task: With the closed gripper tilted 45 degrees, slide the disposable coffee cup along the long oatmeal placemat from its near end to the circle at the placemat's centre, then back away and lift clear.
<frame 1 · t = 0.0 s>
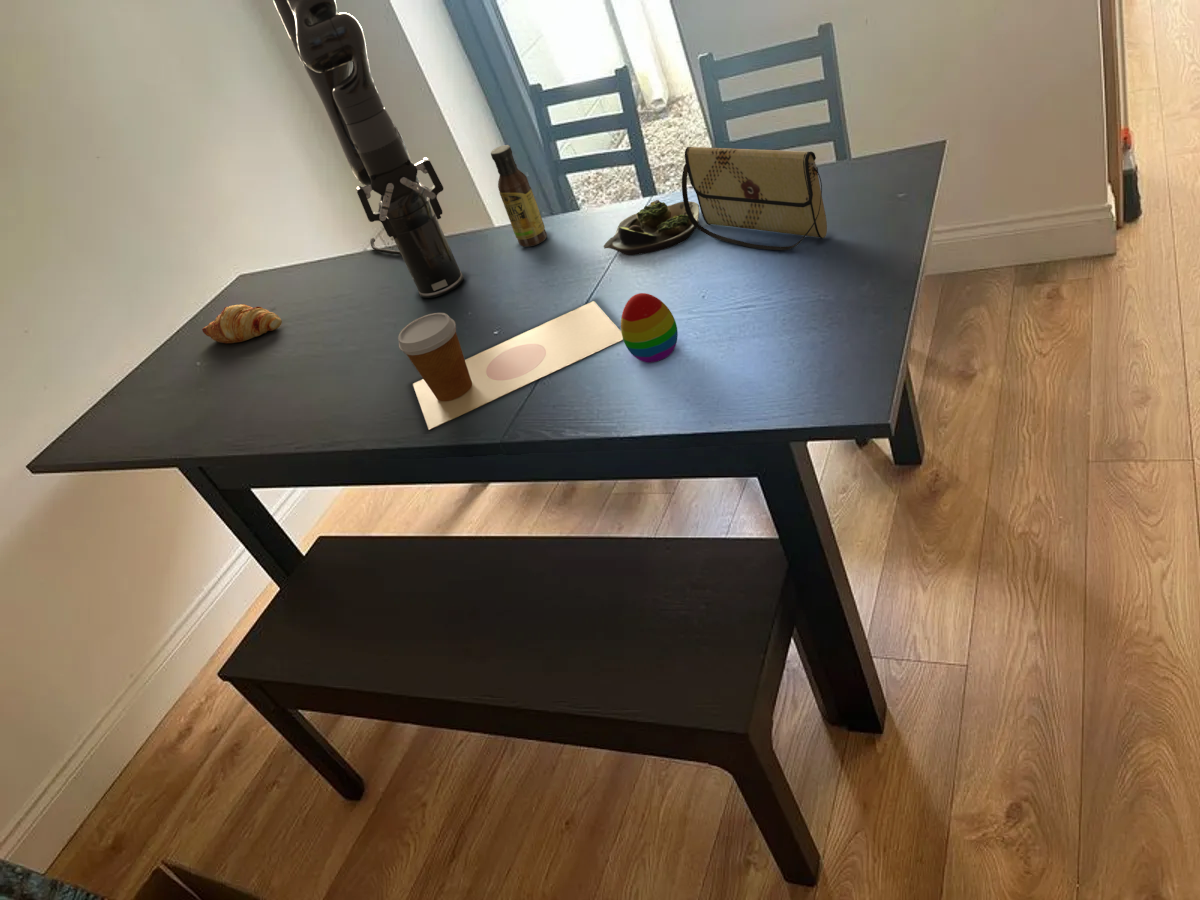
hand: (417, 227, 169), 17 cm above the table, tool pointing down, fingers open, 8 cm apart
decorative egg: (656, 353, 142), on the table
placemat: (516, 362, 154), on the table
salad plate: (656, 235, 177), on the table
disposable coffee cup: (454, 391, 153), resting on placemat
sauce bottle: (534, 242, 193), on the table
croissant: (247, 335, 203), on the table
clutch purse: (758, 238, 162), on the table
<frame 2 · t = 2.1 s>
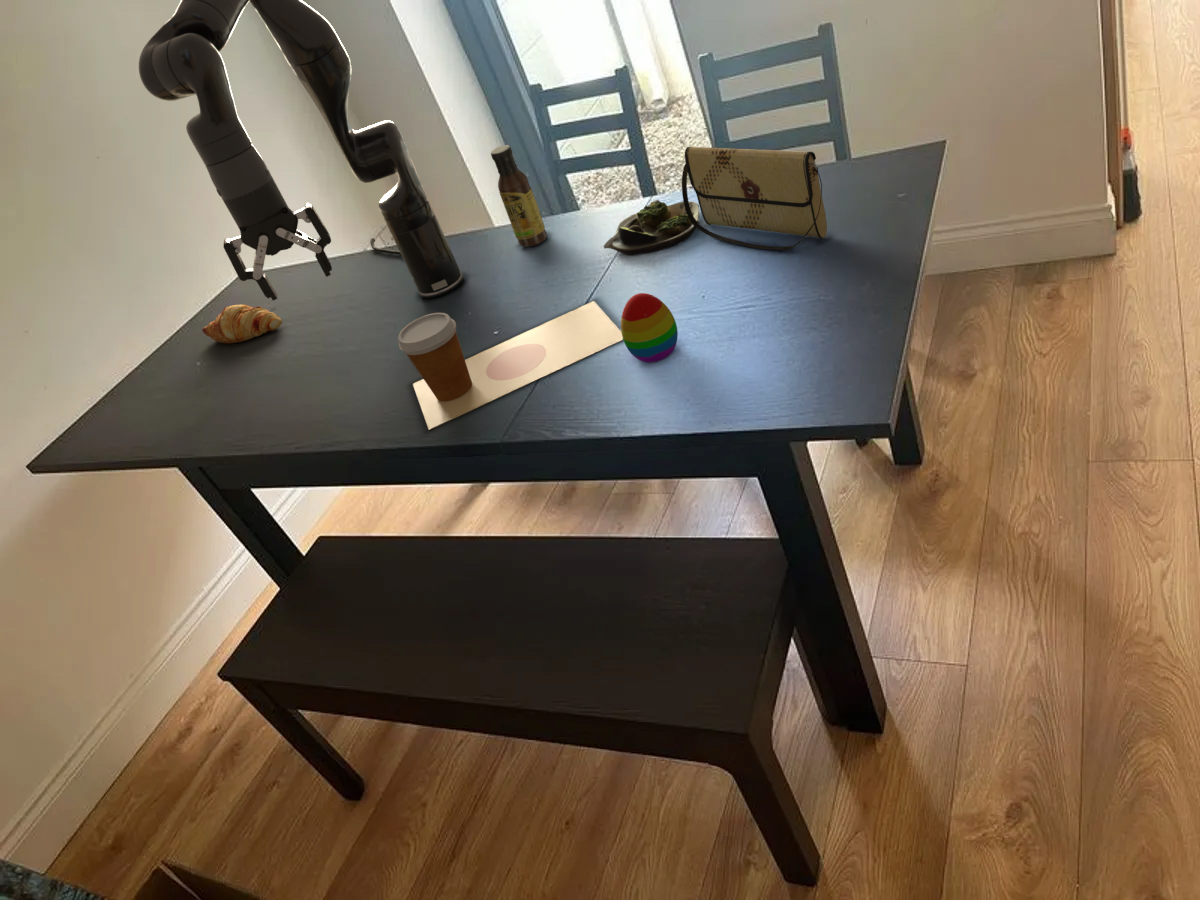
hand: (301, 286, 141), 25 cm above the table, tool pointing down, fingers open, 8 cm apart
nothing on the table moved.
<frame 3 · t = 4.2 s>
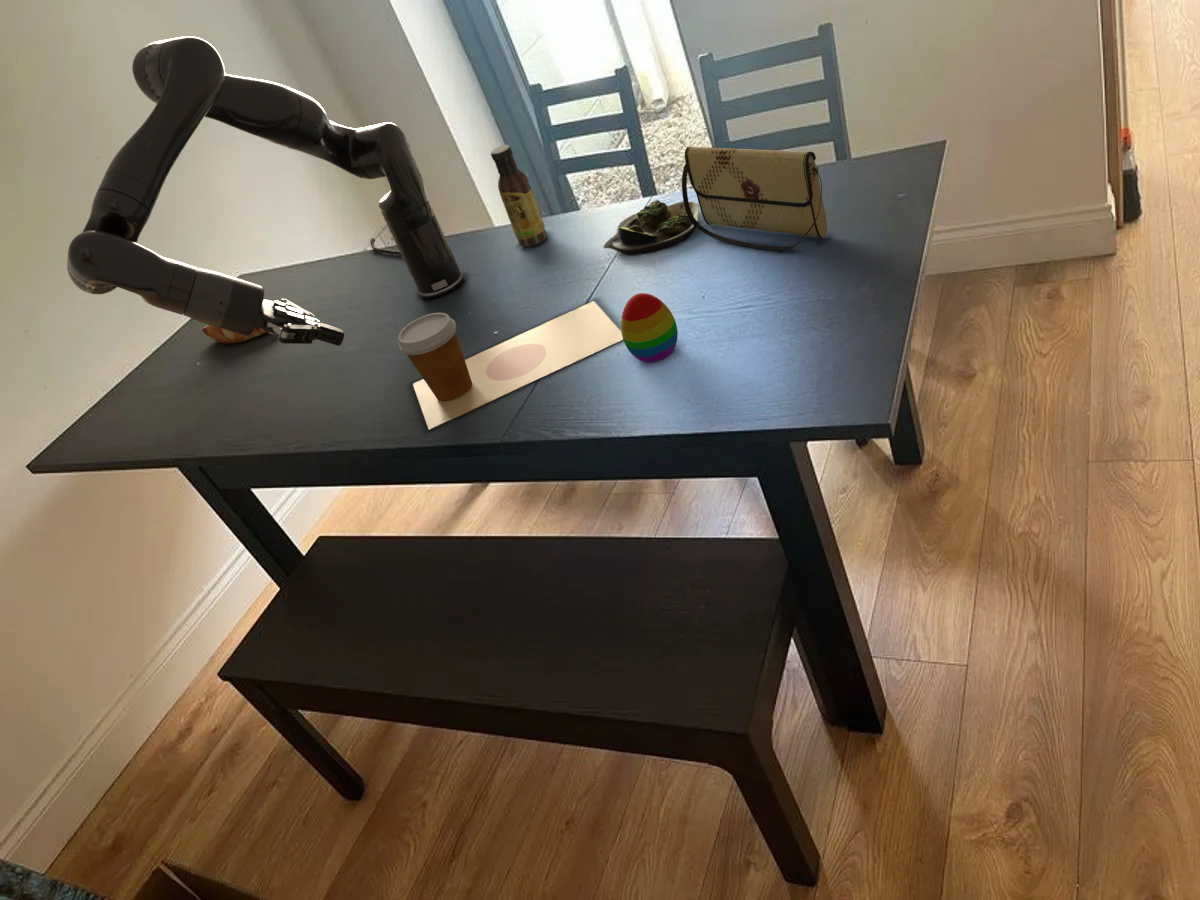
hand: (342, 338, 143), 16 cm above the table, tool tilted 45°, fingers closed
nothing on the table moved.
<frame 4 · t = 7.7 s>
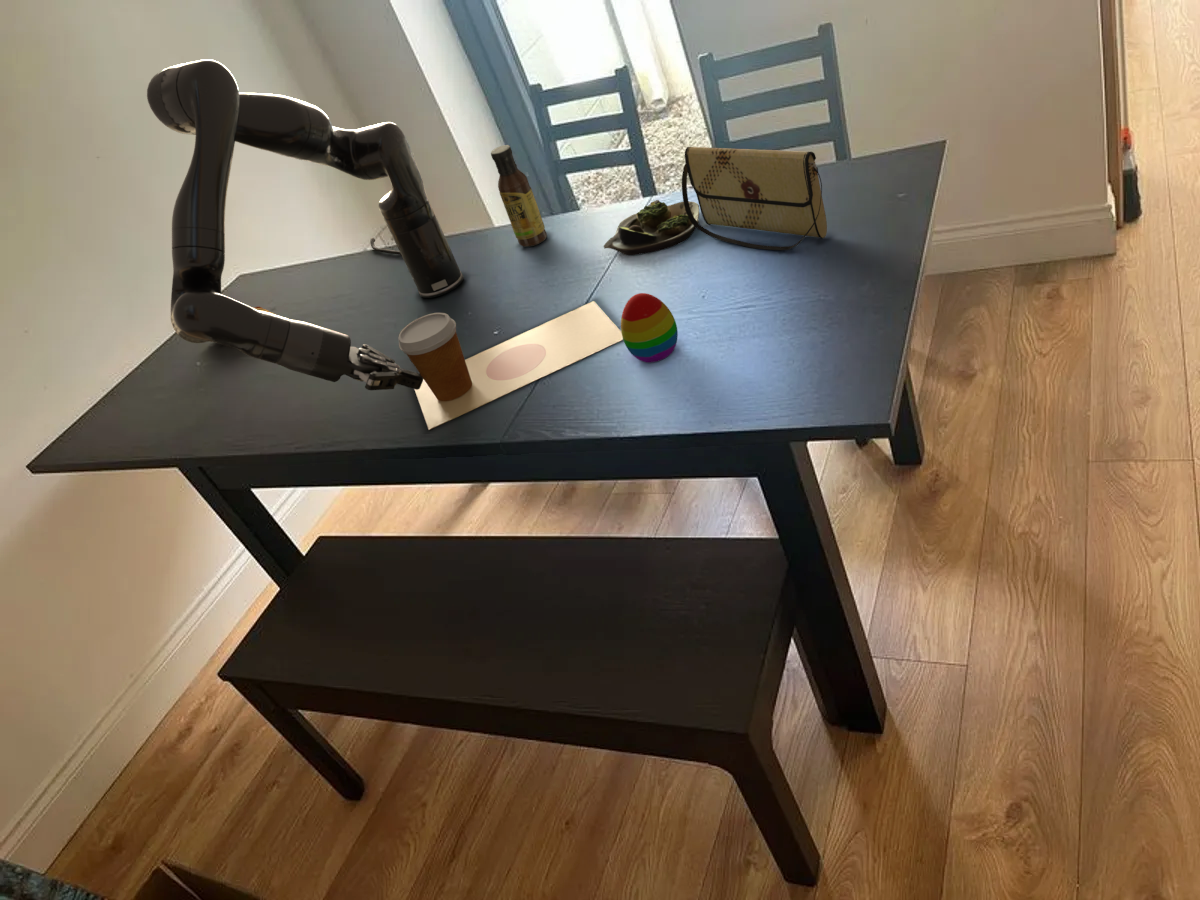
hand: (420, 382, 150), 4 cm above the table, tool tilted 45°, fingers closed
disposable coffee cup: (454, 390, 153), resting on placemat, touching gripper
everything else where it was.
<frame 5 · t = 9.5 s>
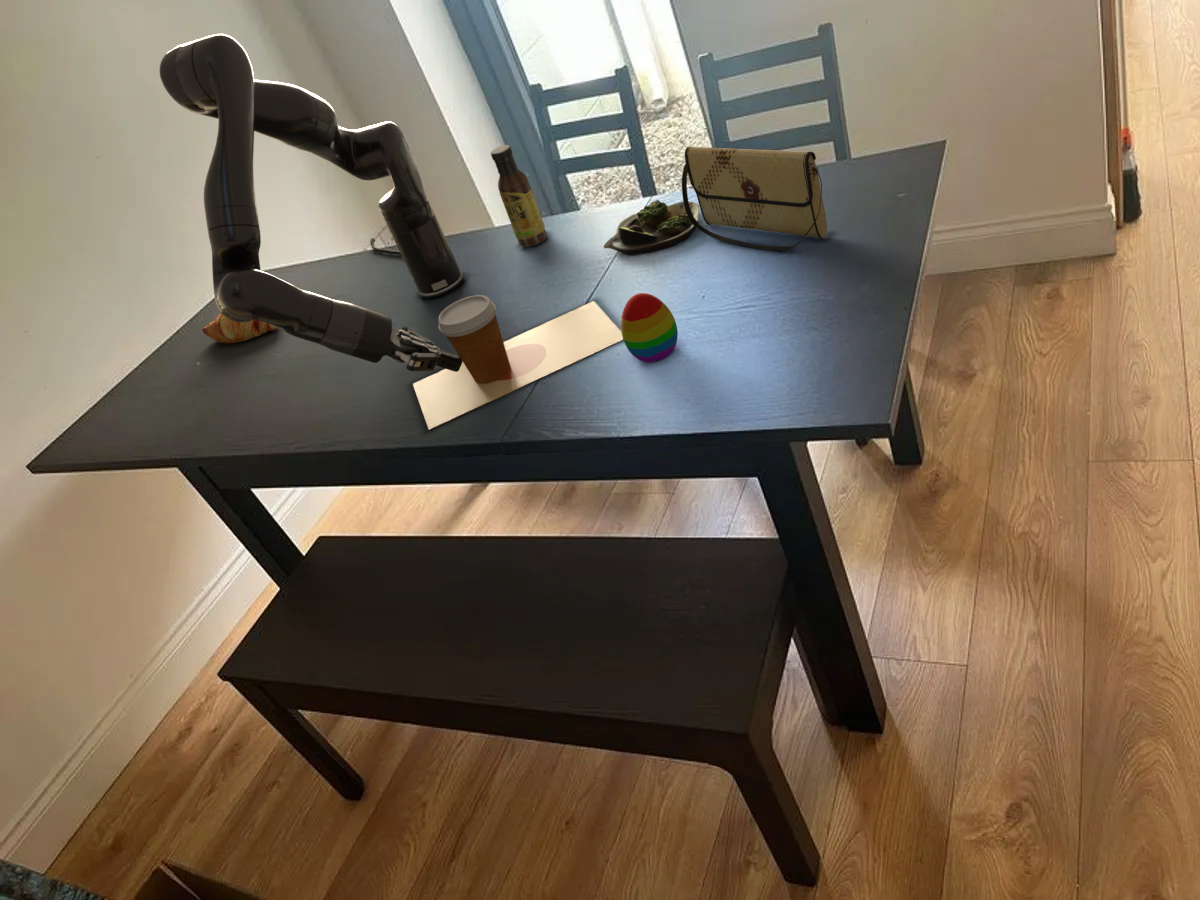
hand: (459, 364, 151), 4 cm above the table, tool tilted 45°, fingers closed
disposable coffee cup: (492, 373, 153), resting on placemat, touching gripper
everything else where it was.
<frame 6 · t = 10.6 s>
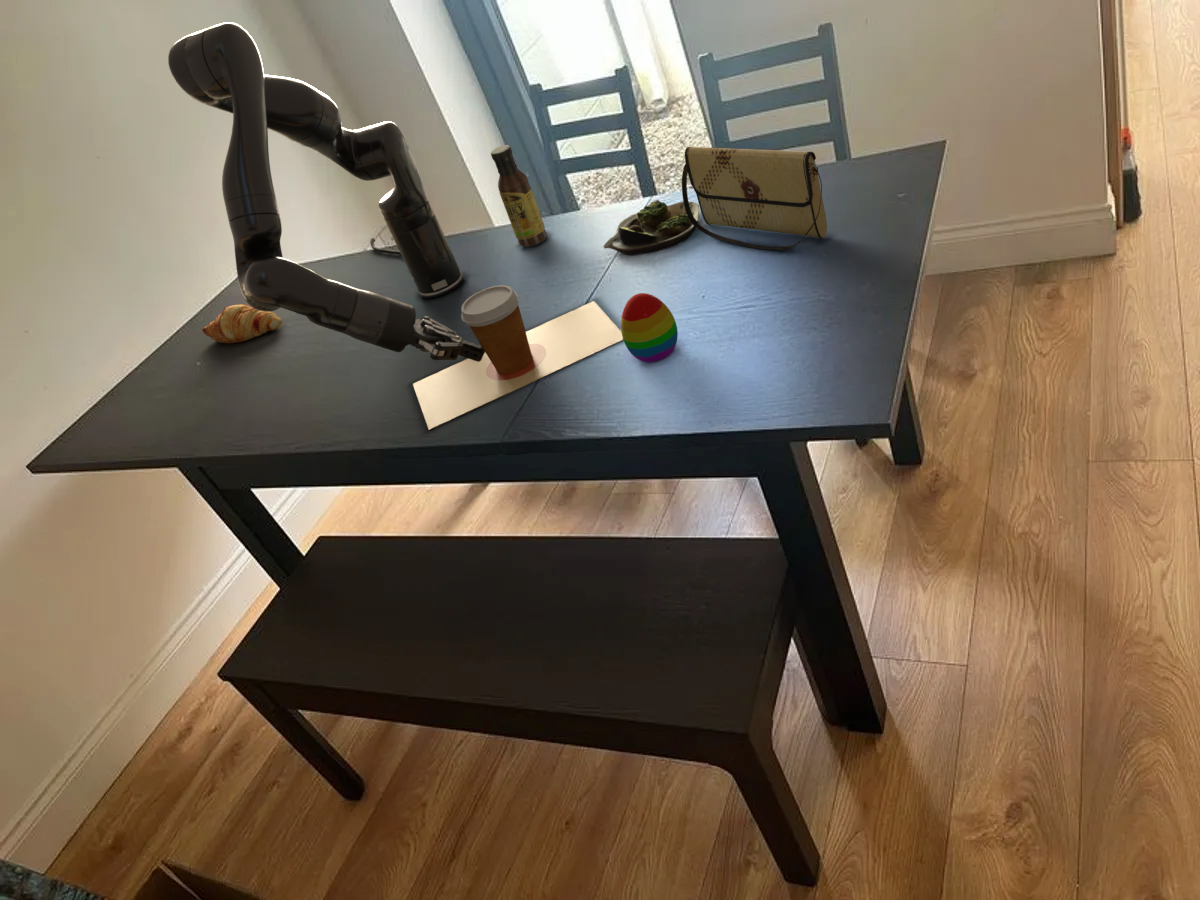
hand: (481, 354, 151), 4 cm above the table, tool tilted 45°, fingers closed
disposable coffee cup: (514, 363, 154), resting on placemat, touching gripper
everything else where it was.
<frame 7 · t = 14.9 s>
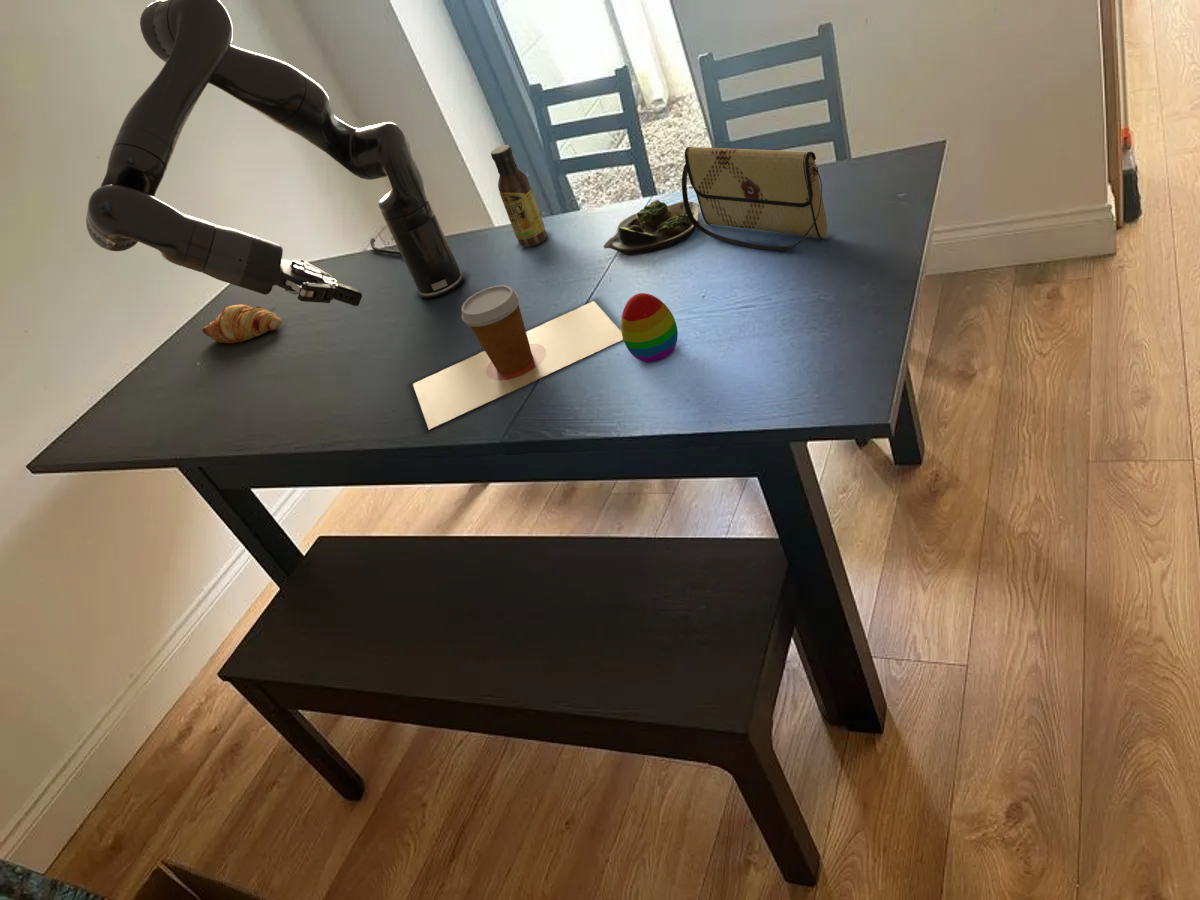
hand: (359, 298, 142), 20 cm above the table, tool tilted 45°, fingers closed
disposable coffee cup: (515, 363, 154), resting on placemat
everything else where it was.
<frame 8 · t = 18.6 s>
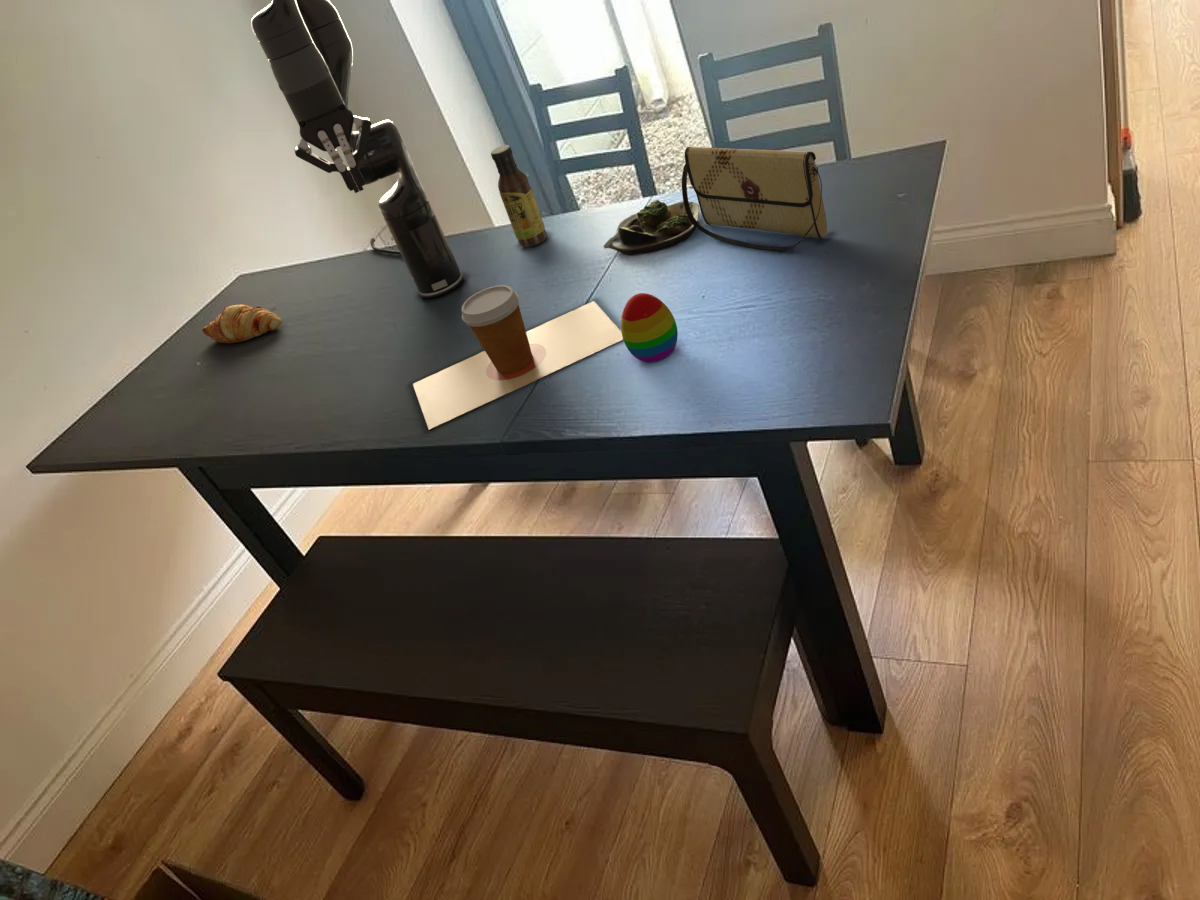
hand: (358, 190, 148), 31 cm above the table, tool pointing down, fingers closed
nothing on the table moved.
at the end: disposable coffee cup 0.3 cm from the placemat (horizontally); disposable coffee cup tilted 0° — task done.
